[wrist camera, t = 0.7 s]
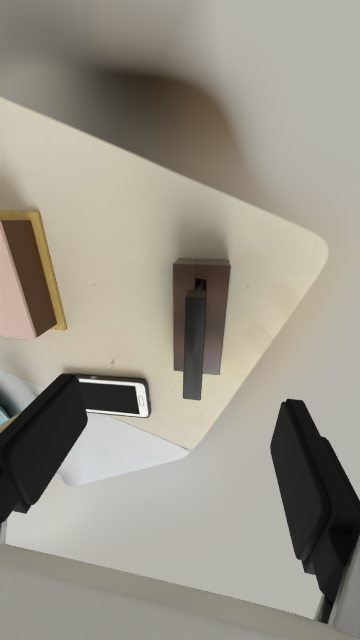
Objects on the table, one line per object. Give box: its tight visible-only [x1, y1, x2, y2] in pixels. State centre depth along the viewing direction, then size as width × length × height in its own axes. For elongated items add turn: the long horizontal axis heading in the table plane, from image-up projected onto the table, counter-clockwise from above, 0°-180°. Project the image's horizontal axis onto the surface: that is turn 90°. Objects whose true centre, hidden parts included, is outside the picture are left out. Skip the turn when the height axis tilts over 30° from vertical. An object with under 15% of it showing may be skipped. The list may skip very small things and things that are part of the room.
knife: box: [183, 279, 208, 400], centre depth 24 cm, size 11×2×10 cm, turn 0°
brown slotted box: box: [173, 258, 231, 375], centre depth 27 cm, size 14×6×4 cm, turn 0°
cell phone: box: [75, 375, 151, 418], centre depth 37 cm, size 8×15×1 cm, turn 92°
